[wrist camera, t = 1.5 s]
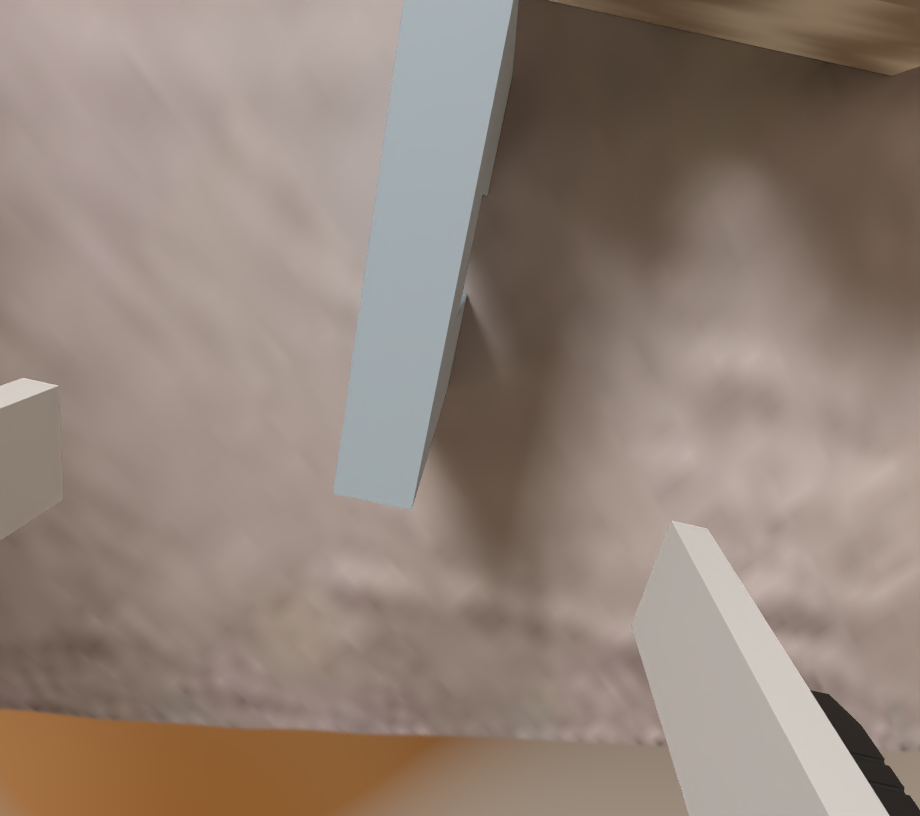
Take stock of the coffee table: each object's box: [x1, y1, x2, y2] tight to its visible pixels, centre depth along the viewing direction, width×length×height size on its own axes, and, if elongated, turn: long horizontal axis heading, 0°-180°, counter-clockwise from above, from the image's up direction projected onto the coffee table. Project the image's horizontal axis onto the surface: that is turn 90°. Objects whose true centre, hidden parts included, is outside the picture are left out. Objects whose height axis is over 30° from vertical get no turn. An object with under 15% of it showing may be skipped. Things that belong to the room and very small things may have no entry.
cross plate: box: [333, 0, 519, 510], centre depth 20 cm, size 14×2×12 cm, turn 168°
